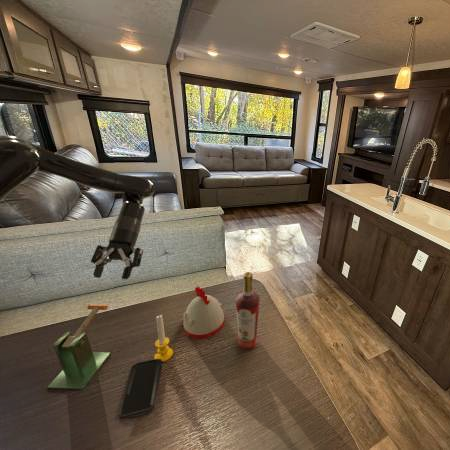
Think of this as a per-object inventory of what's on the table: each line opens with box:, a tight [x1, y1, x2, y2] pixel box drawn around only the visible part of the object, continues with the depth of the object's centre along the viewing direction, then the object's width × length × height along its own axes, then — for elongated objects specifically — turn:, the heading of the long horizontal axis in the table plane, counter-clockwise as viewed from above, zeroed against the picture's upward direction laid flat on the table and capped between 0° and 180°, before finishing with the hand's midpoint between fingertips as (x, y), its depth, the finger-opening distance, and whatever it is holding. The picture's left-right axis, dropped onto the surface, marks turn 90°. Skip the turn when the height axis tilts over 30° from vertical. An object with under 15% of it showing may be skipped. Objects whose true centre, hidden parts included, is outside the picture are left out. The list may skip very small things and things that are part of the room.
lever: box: [61, 303, 109, 351], centre depth 70 cm, size 13×5×2 cm, turn 2°
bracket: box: [46, 331, 112, 391], centre depth 68 cm, size 11×9×13 cm
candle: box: [153, 314, 174, 363], centre depth 74 cm, size 5×5×16 cm
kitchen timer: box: [182, 286, 225, 339], centre depth 87 cm, size 14×14×15 cm
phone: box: [118, 358, 163, 419], centre depth 68 cm, size 8×1×15 cm
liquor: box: [235, 271, 260, 350], centre depth 79 cm, size 7×7×28 cm
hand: (110, 278), depth 79 cm, fingers open, 8 cm apart
